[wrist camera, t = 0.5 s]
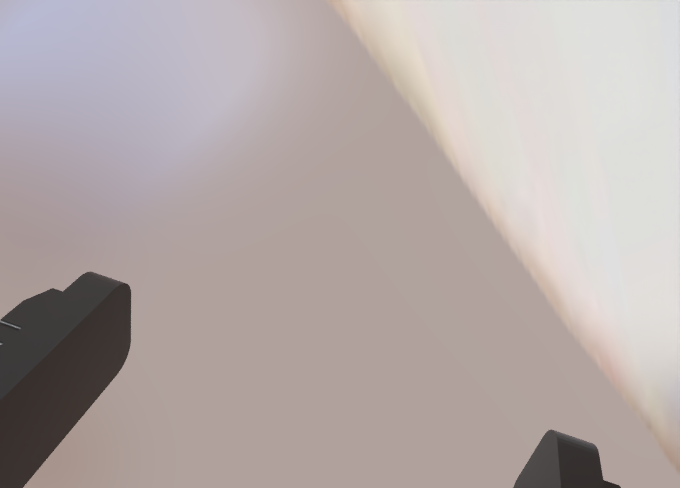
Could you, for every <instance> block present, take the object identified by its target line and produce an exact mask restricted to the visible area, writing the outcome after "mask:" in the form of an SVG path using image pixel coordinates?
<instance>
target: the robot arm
mask: <svg viewBox="0 0 680 488" xmlns="http://www.w3.org/2000/svg"><path fill="white" fill-rule="evenodd" d="M130 342H131V290H130V287H129V285H128V284H125V283H123V282H120V281H117V280H114V279H111V278H108V277H105V276H102V275H99V274H96V273H93V272H87V273H85V274H83V275H82V276H80V277H79V278H78V279H77V280H76V281H75V282H73V283H72V284H71V285H70V286H69V287H68V288H67V289H65V290H64V291H63V292H62V291H59V290H56V289H50V290H48V291H46V292H43V293H41V294H38V295H36V296H34V297H31V298H29V299H26V300H24V301H23V302H21V303H20V304H19V305H18V306H16V307H15V308H14V309H13V310H12V311H10V312H9V313H8V314H7V315H5V316H4V317H3V318H2V319H1V321H0V488H23V487H24V485H25V484H26V483H27V482H28V481H29V479H30V478H31V477H32V476H33V475H34V473H35V472H36V471H37V470H38V469H39V467H40V466H41V465H42V464H43V462H44V461H45V460H46V459H47V458H48V457H49V455H50V454H51V453H52V452H53V451H54V449H55V448H56V447H57V446H58V445H59V444H60V442H61V441H62V440H63V439H64V438H65V436H66V435H67V434H68V433H69V431H70V430H71V429H72V428H73V427H74V426H75V424H76V423H77V422H78V420H80V418H81V417H82V416H83V415H84V414H85V412H86V411H87V410H88V409H89V408H90V406H91V405H92V404H93V403H94V402H95V400H96V399H97V398H98V397H99V396H100V394H101V393H102V392H103V391H104V390H105V388H106V387H107V386H108V385H109V384H110V382H111V381H112V380H113V379H114V378H115V376H116V375H117V374H118V372H119V371H120V369H121V368H122V366H123V365H124V362H125V360H126V358H127V355H128V352H129V349H130ZM514 488H621V487H620V486H619V485H616V484H613V483H610V482H607V481H604V480H603V476H602V470H601V464H600V457H599V453H598V449H597V447H596V446H595V445H594V444H592V443H589V442H586V441H584V440H580V439H577V438H575V437H572V436H569V435H566V434H563V433H560V432H557V431H554V430H549V431H548V432H547V433H546V434H545V435H544V436H543V438H542V440H541V441H540V443H539V445H538V446H537V448H536V449H535V451H534V453H533V454H532V456H531V458H530V459H529V461H528V462H527V464H526V466H525V467H524V469H523V471H522V472H521V474H520V475H519V477H518V479H517V480H516V483H515V485H514Z"/></svg>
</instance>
